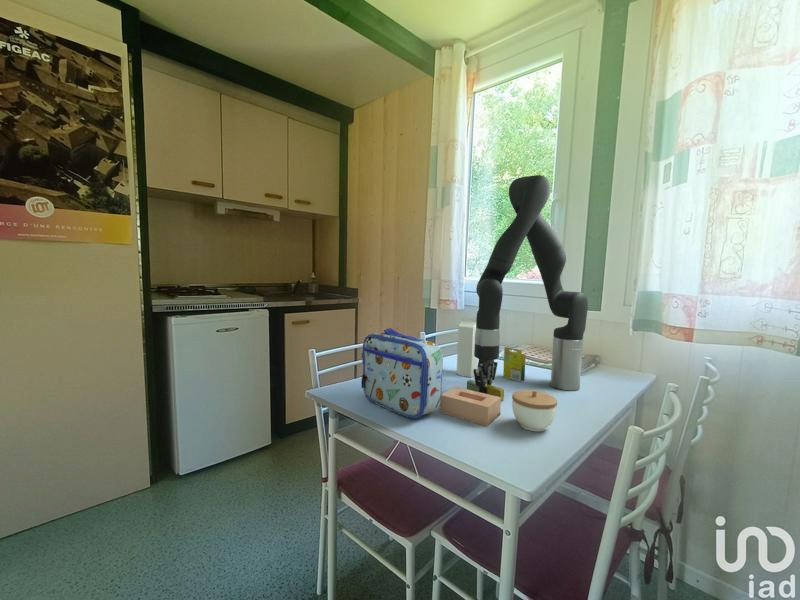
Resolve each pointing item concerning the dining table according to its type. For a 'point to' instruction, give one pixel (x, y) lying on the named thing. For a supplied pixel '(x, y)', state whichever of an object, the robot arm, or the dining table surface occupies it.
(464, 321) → the milk
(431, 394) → the lunch box
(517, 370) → the crayon box
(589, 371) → the dining table surface
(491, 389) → the medication box
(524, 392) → the lidded jar
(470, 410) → the beige slotted holder
